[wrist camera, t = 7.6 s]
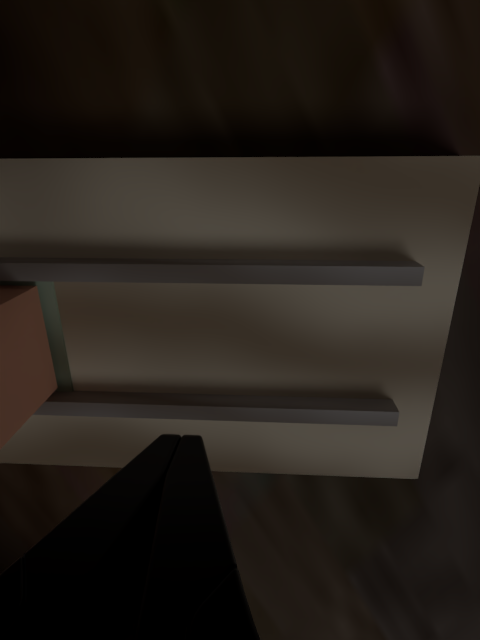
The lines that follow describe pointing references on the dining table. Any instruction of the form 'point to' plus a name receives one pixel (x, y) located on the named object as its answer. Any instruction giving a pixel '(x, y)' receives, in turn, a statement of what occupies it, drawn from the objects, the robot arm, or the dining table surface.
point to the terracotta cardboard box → (22, 358)
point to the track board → (239, 305)
